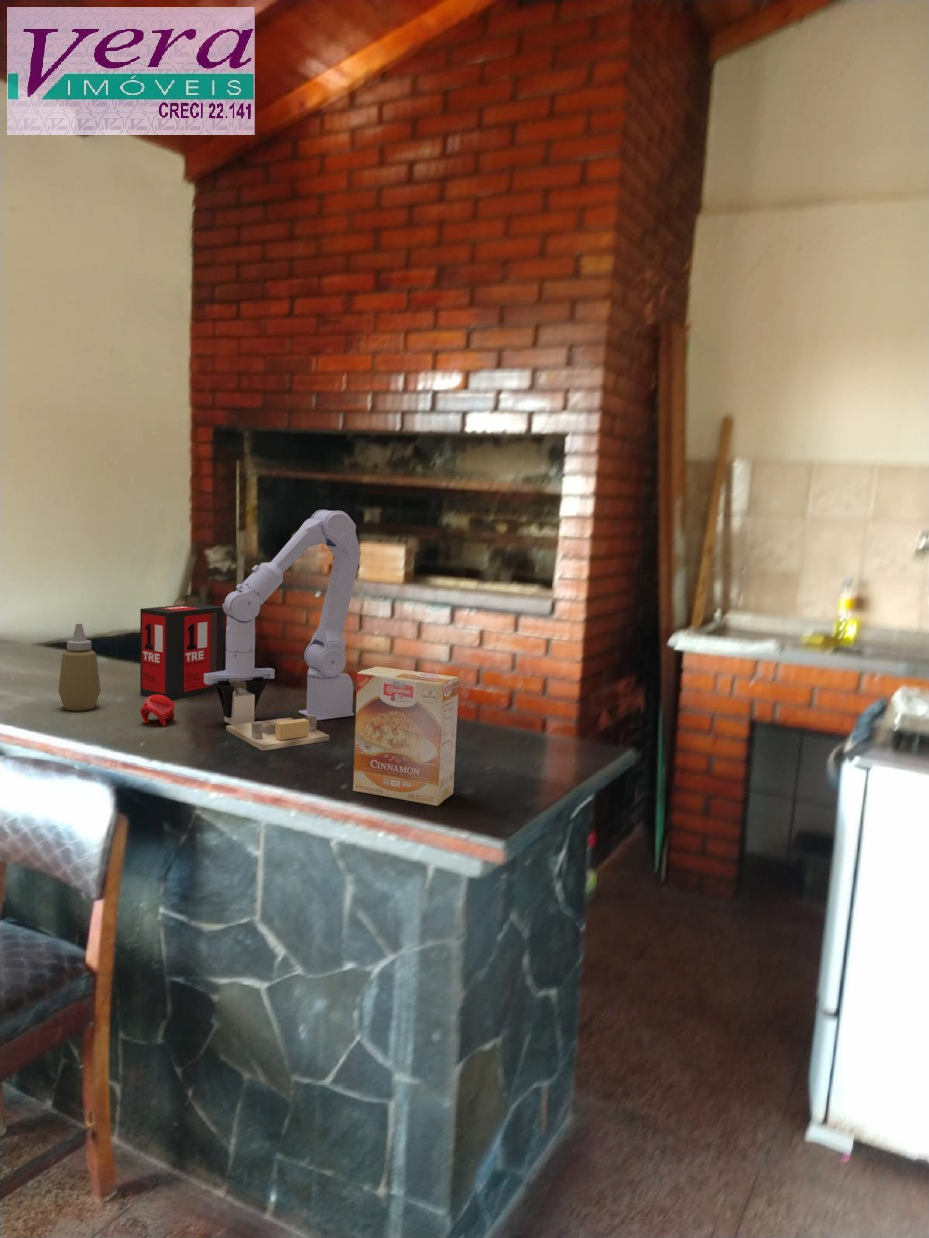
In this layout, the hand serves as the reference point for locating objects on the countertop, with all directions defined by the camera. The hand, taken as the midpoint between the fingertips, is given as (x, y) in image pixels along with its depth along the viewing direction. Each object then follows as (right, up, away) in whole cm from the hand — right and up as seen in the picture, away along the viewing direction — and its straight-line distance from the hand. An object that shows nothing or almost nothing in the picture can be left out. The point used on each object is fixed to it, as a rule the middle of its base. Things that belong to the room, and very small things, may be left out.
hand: (239, 715), depth 175 cm
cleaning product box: (-20, +2, +24) cm, 31 cm away
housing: (0, -1, 0) cm, 1 cm away
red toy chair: (-15, -1, -3) cm, 16 cm away
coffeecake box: (+36, -8, -38) cm, 53 cm away
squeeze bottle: (-35, +1, +5) cm, 35 cm away
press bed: (+10, -3, -9) cm, 13 cm away
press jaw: (+14, -3, -13) cm, 19 cm away
